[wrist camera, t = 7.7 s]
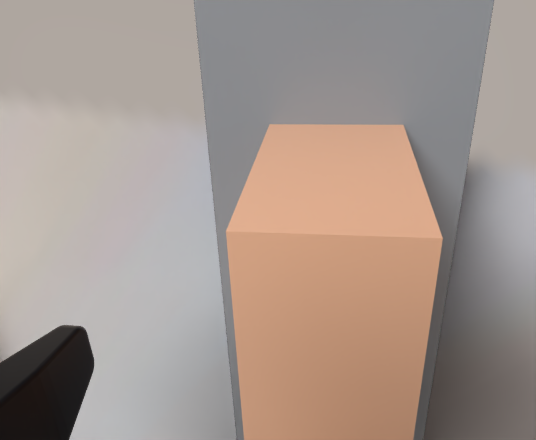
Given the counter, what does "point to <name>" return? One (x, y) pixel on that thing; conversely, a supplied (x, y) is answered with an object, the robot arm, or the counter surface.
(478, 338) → the counter surface
